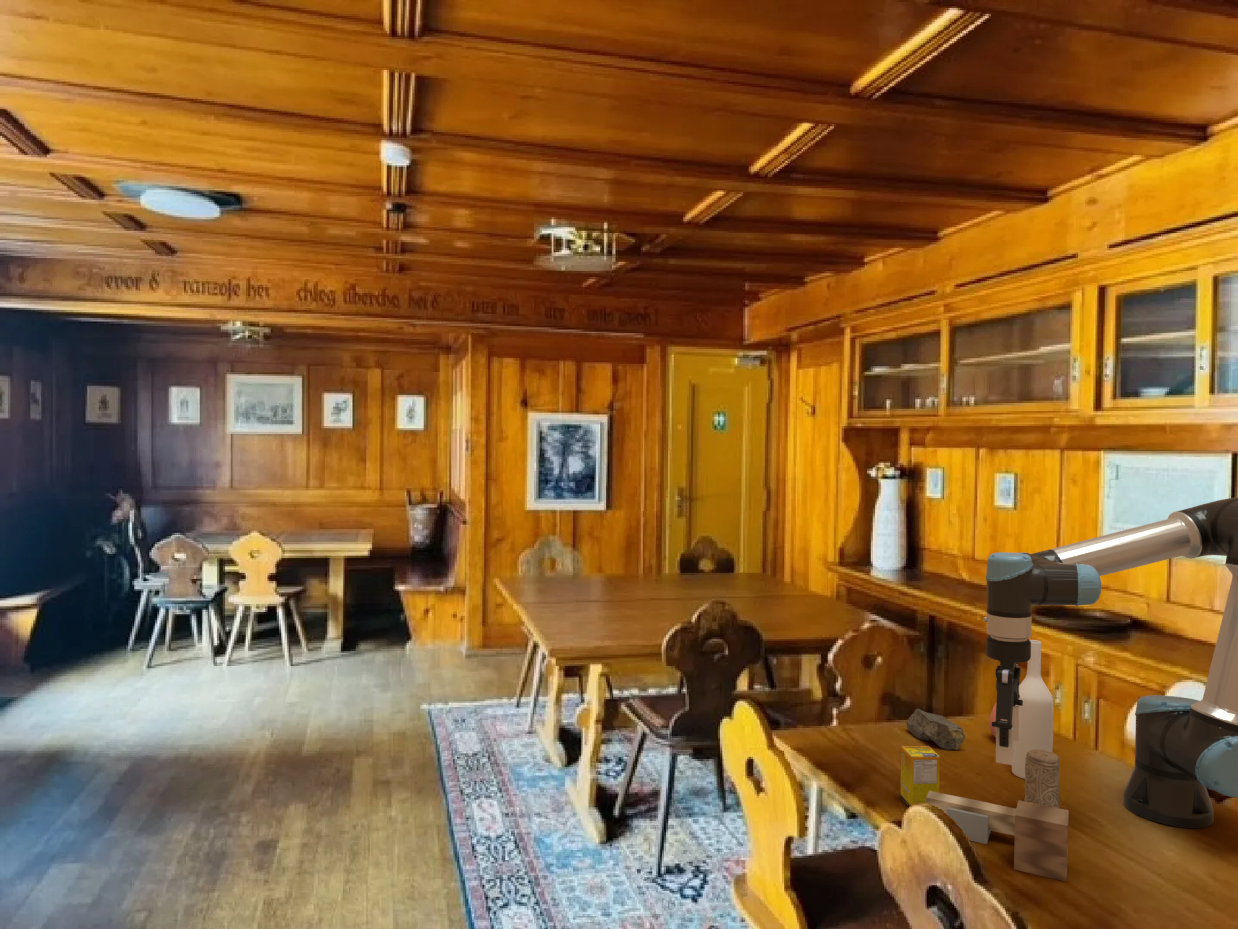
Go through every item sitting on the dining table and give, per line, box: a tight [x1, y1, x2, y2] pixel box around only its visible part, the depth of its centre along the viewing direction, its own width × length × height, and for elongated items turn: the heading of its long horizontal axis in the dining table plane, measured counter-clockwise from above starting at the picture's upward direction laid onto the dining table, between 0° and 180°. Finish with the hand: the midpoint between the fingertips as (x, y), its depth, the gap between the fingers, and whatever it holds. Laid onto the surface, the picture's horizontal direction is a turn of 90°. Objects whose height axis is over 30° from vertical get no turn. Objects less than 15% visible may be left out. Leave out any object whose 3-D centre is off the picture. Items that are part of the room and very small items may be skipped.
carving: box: [1024, 750, 1061, 808], centre depth 167 cm, size 6×8×12 cm
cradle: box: [947, 796, 993, 845], centre depth 158 cm, size 7×7×5 cm
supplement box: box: [900, 745, 941, 807], centre depth 171 cm, size 6×6×11 cm
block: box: [1013, 799, 1070, 882], centre depth 145 cm, size 8×7×10 cm
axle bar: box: [926, 791, 1017, 837], centre depth 158 cm, size 16×4×4 cm, turn 60°
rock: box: [905, 708, 966, 751], centre depth 207 cm, size 17×7×10 cm
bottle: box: [1011, 639, 1054, 780], centre depth 186 cm, size 8×8×30 cm
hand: (1007, 751), depth 155 cm, fingers open, 13 cm apart
